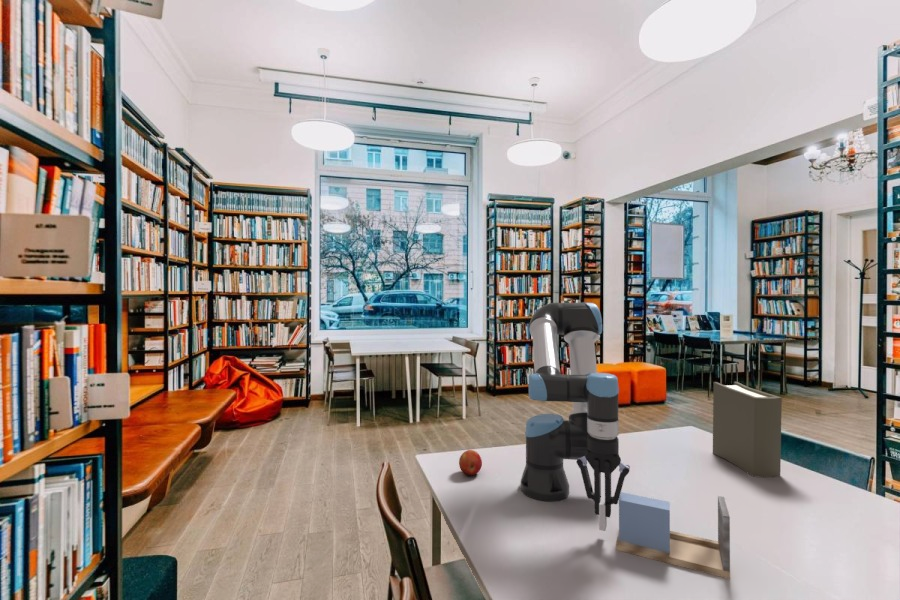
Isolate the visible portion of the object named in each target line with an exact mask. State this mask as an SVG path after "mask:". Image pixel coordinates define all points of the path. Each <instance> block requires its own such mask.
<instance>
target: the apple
mask: <svg viewBox="0 0 900 600" xmlns="http://www.w3.org/2000/svg"><path fill="white" fill-rule="evenodd" d="M482 460H483V459H482V457H481V455H480V454H479V453H478V452H477V451H476V450H472V449H468V450H465V451H464V452H462V454H461V455H460V457H459V460H458V465H459V469H460V470H461V473H463V474H464V475H465V476H468V477H470V476H475V475H476V474H479V472H481V469H482V466H483V461H482Z"/></svg>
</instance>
